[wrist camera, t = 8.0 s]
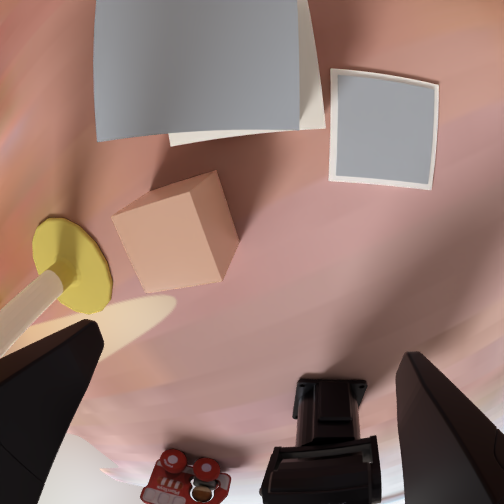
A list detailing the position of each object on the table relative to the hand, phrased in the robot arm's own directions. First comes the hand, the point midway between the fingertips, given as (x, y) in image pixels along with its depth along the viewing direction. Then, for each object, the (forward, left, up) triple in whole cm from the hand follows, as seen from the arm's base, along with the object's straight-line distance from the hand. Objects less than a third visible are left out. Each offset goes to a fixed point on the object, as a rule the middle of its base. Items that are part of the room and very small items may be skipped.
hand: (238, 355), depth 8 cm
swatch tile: (+5, -7, -12) cm, 15 cm away
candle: (-6, +18, -13) cm, 23 cm away
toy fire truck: (-41, +11, -13) cm, 44 cm away
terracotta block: (-1, +5, -13) cm, 14 cm away
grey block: (+8, +1, -8) cm, 11 cm away
